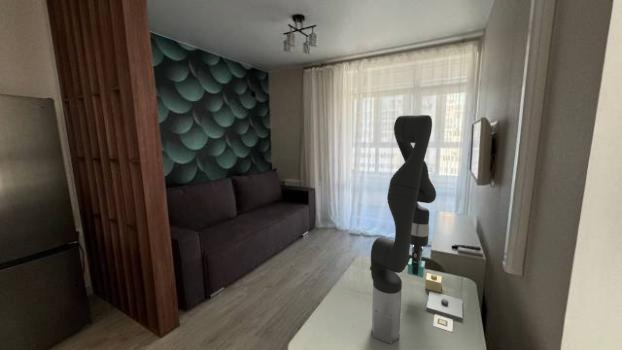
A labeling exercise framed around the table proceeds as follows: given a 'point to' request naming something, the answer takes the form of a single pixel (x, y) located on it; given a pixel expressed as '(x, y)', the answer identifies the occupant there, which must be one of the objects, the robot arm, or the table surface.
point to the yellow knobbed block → (433, 282)
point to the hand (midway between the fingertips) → (416, 270)
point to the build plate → (445, 305)
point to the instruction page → (443, 322)
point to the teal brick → (420, 269)
